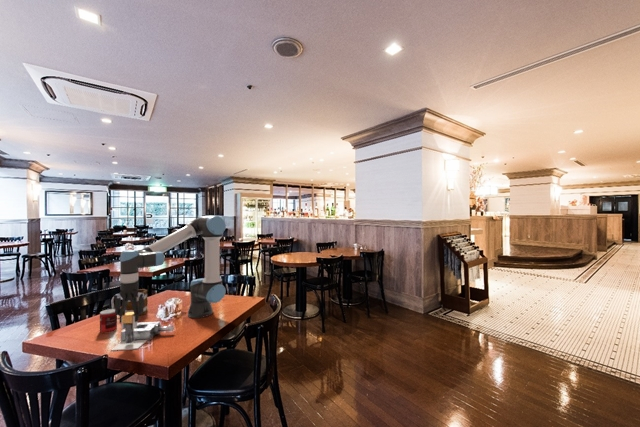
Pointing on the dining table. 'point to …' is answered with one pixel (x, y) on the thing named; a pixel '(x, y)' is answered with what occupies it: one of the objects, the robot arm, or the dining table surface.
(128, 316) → the key
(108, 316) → the canned food
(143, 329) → the block
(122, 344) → the rest mat
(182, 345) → the dining table surface
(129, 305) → the mug
